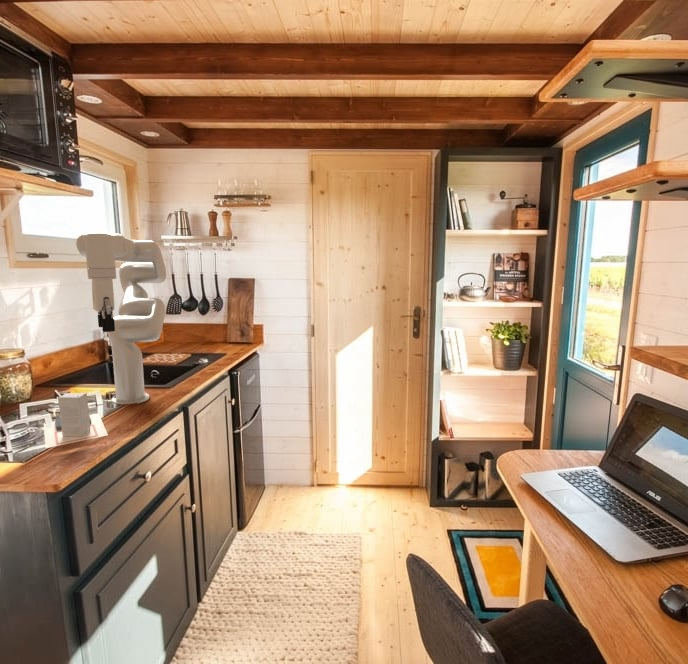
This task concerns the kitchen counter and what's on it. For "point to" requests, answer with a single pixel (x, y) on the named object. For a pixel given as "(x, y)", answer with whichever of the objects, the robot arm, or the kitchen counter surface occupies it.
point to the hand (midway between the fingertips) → (106, 329)
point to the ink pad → (58, 423)
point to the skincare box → (74, 414)
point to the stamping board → (57, 439)
